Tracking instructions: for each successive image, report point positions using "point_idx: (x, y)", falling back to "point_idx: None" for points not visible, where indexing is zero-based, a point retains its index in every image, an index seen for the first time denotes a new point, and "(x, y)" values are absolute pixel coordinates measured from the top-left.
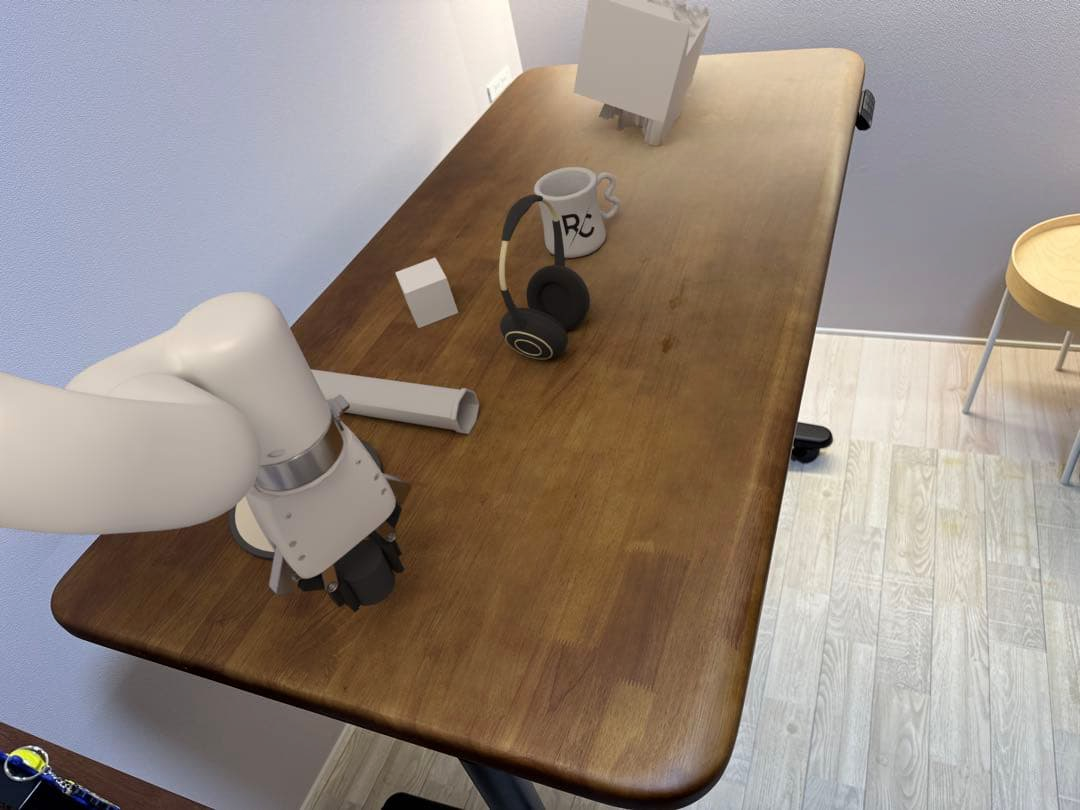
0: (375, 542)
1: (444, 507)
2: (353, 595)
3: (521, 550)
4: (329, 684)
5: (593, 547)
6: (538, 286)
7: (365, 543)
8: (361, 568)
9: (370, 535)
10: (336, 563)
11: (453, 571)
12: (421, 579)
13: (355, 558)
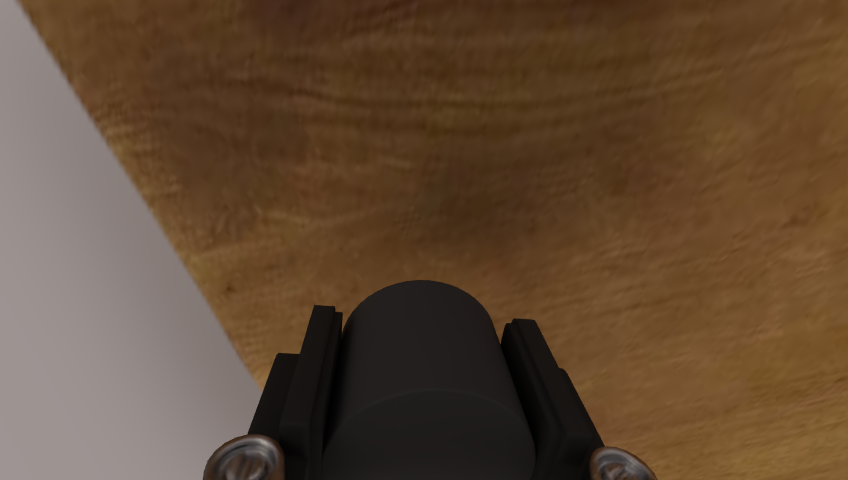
0: (534, 471)
1: (756, 139)
2: None
3: (678, 371)
4: (206, 254)
5: (721, 459)
6: None
7: (510, 442)
8: None
9: (553, 452)
10: (360, 424)
11: (580, 291)
12: (530, 244)
13: (428, 464)
